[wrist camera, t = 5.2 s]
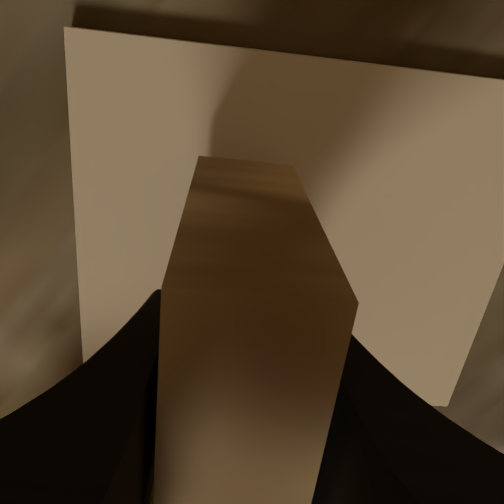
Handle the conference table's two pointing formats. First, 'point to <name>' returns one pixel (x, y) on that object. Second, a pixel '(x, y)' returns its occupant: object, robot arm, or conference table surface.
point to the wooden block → (248, 340)
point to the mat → (309, 173)
